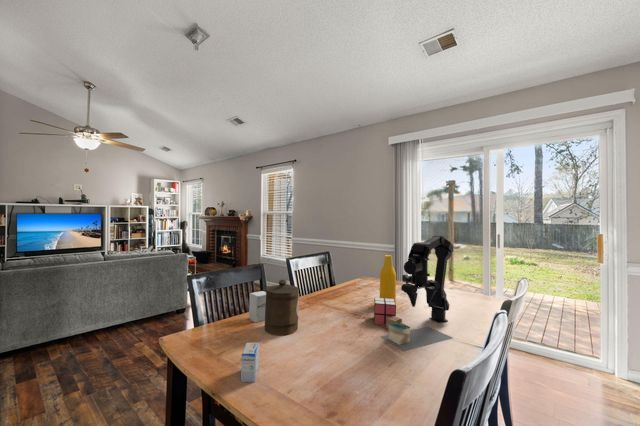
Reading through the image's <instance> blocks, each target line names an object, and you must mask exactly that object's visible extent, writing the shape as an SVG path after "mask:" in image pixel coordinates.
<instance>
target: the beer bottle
mask: <svg viewBox="0 0 640 426" xmlns="http://www.w3.org/2000/svg"><path fill="white" fill-rule="evenodd" d="M393 263H394V262H393V255H390V254H385V255H384V258H383V265H382V268H381V270H380V272H379V298H384V299H394V300H395V304H396V305H397V294H396V293H397V292H396V291H397V274H396V273H397V272H396V271H395V270H396V269H395V268H394V265H393Z"/></svg>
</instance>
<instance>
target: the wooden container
mask: <svg viewBox="0 0 640 426" xmlns="http://www.w3.org/2000/svg"><path fill="white" fill-rule="evenodd" d="M265 292H266V306H265V320H264V331H265V333H268V334H270V335H273V336H288V335H291V334H294V333H295V332H297V331H298V326H299V287H298V286H295V285H291V284H287V280H285V279H280V280H278V284H274V285H271V286H268V287H266V290H265Z"/></svg>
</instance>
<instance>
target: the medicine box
mask: <svg viewBox="0 0 640 426" xmlns="http://www.w3.org/2000/svg"><path fill="white" fill-rule="evenodd" d="M245 343H246V344H245V346H244V348H243V351H242V353H241V361H240V362H241V365H240V367H241V368H240V382H241V383H255V382H256V380H257V375H258V370H259V366H260V365H259V362H260V342H245Z"/></svg>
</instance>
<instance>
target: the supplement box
mask: <svg viewBox="0 0 640 426" xmlns="http://www.w3.org/2000/svg"><path fill="white" fill-rule="evenodd" d="M248 304H249V305H248V307H249V308H248V309H249V312H248V315H249V316H248V318H249V319H250V320H251V321H253V322H254V323H259V322H263V321H265V306H266V291H263V290H261V291H255V292H254V291H253V292H250V293H249V303H248Z"/></svg>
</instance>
